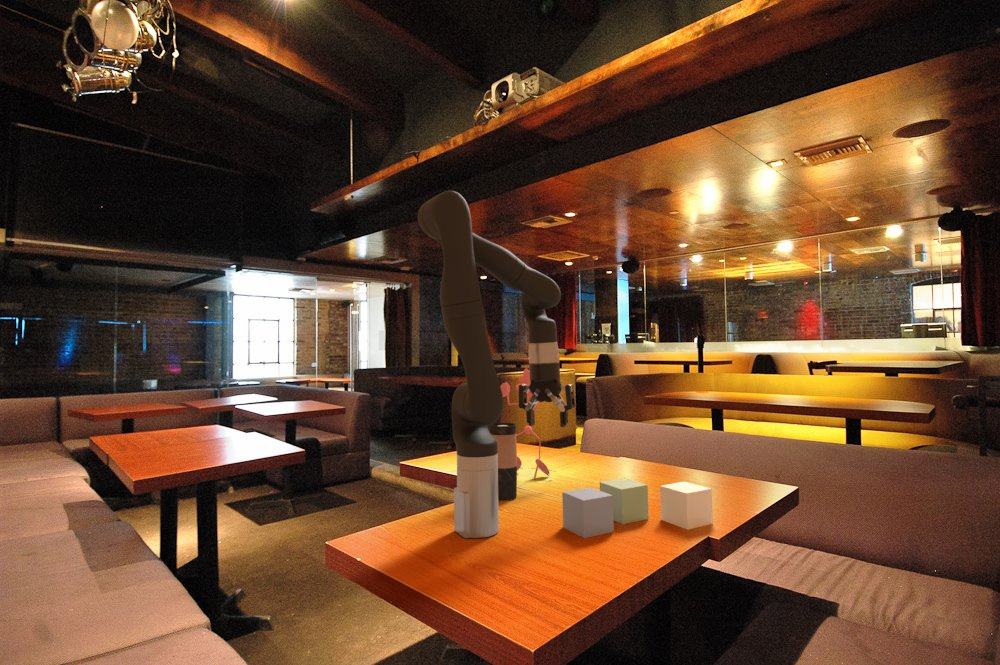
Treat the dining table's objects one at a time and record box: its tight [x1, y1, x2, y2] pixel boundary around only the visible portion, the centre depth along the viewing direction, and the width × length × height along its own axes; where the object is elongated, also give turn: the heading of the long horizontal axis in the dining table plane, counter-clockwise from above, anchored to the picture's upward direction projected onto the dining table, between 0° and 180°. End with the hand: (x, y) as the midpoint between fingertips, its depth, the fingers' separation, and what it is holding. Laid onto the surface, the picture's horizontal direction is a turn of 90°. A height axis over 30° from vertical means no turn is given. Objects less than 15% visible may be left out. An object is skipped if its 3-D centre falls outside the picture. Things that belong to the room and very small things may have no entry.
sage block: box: [599, 477, 649, 525], centre depth 124 cm, size 8×8×8 cm
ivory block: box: [659, 481, 714, 531], centre depth 119 cm, size 8×8×8 cm
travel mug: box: [488, 422, 518, 502], centre depth 143 cm, size 8×8×20 cm
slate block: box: [561, 487, 615, 539], centre depth 115 cm, size 8×8×8 cm
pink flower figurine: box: [500, 368, 557, 482], centre depth 171 cm, size 15×26×35 cm, turn 52°
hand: (547, 426), depth 128 cm, fingers open, 8 cm apart
